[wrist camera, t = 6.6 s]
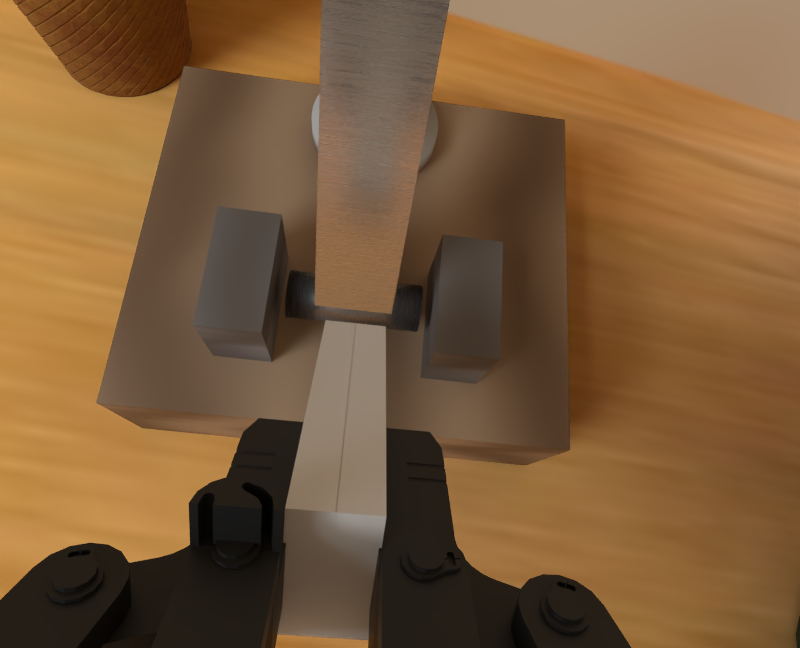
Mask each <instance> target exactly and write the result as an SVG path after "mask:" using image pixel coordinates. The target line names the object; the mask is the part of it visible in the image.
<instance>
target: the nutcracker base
mask: <svg viewBox="0 0 800 648" xmlns="http://www.w3.org/2000/svg"><path fill="white" fill-rule="evenodd" d="M319 97H320V85H316V84H309V83H302V82H295V81H288V80H281V79H274V78H266V77H259V76H252V75H245V74H238V73H231V72H224V71H217V70H210V69H203V68H196V67H189V66H184V68H183V72H182V76H181V80H180V83H179V87H178V91H177V95H176V99H175V103H174V107H173V110H172V114H171V118H170V122H169V126H168V130H167V133H166V137H165V141H164V145H163V149H162V153H161V157H160V160H159V164H158V168H157V172H156V176H155V180H154V183H153V187H152V191H151V195H150V199H149V203H148V207H147V210H146V214H145V218H144V222H143V226H142V230H141V233H140V237H139V241H138V245H137V249H136V253H135V257H134V260H133V264H132V268H131V272H130V276H129V280H128V284H127V287H126V291H125V295H124V299H123V303H122V307H121V310H120V314H119V318H118V322H117V326H116V330H115V334H114V337H113V341H112V345H111V349H110V353H109V357H108V360H107V364H106V368H105V372H104V376H103V380H102V384H101V387H100V391H99V395H98V399H97V403H98V404H100V405H101V406H103V407H105V408H107V409H109V410H111V411H112V412H114V413H116V414H118V415H120V416H121V417H123V418H125V419H127V420H129V421H131V422H132V423H134V424H136V425H138V426H140V427H142V428H148V429H158V430H168V431H179V432H189V433H199V434H209V435H220V436H230V437H240V438H241V436H242V434H243V432H244V431H245V430H246V429H247V428H248V427H249V426H250V425H252V424H253V423H254V422H255V421H256V420H257V419H258V418H265V419H276V420H287V421H298V422H304V418H305V413H306V409H307V404H308V399H309V395H310V390H311V385H312V381H313V376H314V372H315V367H316V362H317V358H318V353H319V348H320V344H321V339H322V334H323V330H324V325H325V322H321V321H312V320H304V319H295V318H286V317H285V298H286V289H287V282H288V277H289V273H290V271H291V270H296V271H305V272H313V273H315V266H316V224H317V182H318V140H319ZM398 283H406V284H415V285H422V287H423V299H422V310H421V317H420V323H419V327H418V331H417V332H410V331H401V330H392V329H386V428H394V429H405V430H416V431H427V432H430V433H431V434H432V435H433V437H434V438H435V439H436V441H437V442H438V443H439V445H440V446H441V448H442V453H443V457H447V458H457V459H467V460H478V461H488V462H498V463H508V464H519V465H528V464H531V463H534V462H536V461H539V460H542V459H545V458H548V457H551V456H554V455H557V454H560V453H563V452H565V451H568V450H570V420H569V360H568V300H567V240H566V181H565V121H564V120H562V119H555V118H548V117H541V116H534V115H527V114H520V113H513V112H506V111H499V110H492V109H485V108H478V107H471V106H464V105H457V104H450V103H442V102H435V101H431V104H430V109H429V115H428V120H427V125H426V131H425V136H424V142H423V147H422V152H421V158H420V163H419V168H418V174H417V179H416V185H415V190H414V195H413V201H412V206H411V212H410V217H409V222H408V228H407V233H406V239H405V244H404V249H403V255H402V260H401V266H400V271H399V276H398Z"/></svg>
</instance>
